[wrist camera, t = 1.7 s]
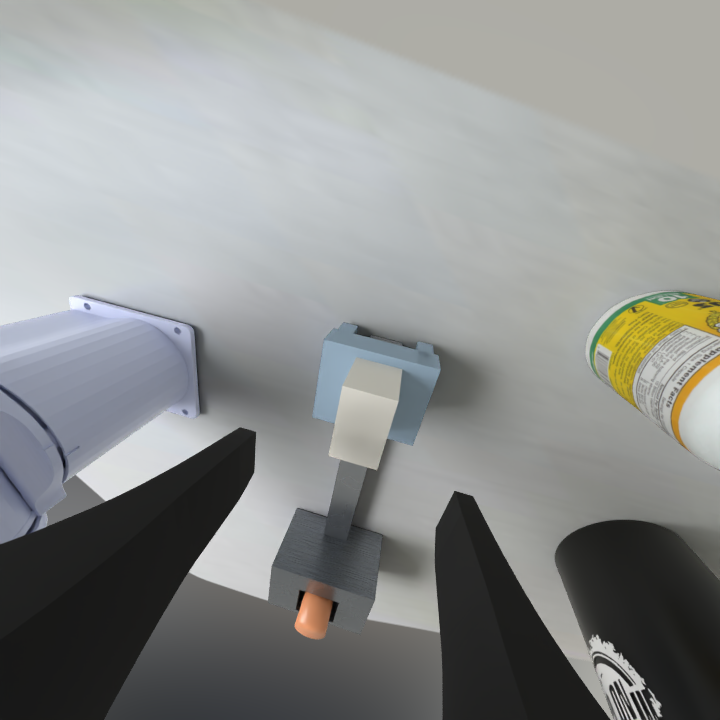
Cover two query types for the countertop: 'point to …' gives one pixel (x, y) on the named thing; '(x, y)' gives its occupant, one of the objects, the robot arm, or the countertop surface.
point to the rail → (346, 491)
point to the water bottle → (646, 619)
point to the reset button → (313, 616)
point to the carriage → (372, 393)
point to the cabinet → (327, 570)
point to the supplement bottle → (665, 364)
